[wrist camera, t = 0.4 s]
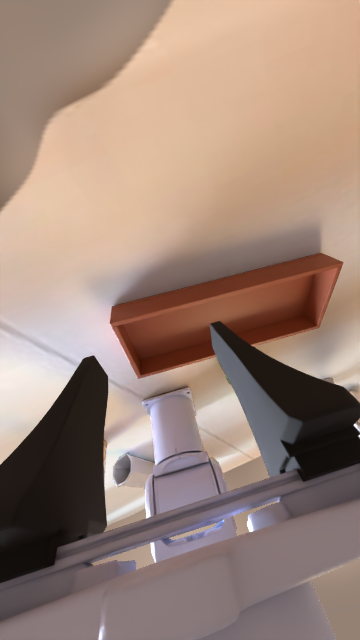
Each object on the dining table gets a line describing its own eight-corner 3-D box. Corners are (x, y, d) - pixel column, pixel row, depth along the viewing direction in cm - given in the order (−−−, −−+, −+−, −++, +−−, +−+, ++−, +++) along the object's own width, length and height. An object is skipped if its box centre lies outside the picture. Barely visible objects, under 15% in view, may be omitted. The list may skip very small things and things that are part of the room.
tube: (194, 484, 54) (135, 472, 39) (180, 499, 54) (115, 493, 38) (184, 465, 58) (128, 447, 43) (171, 479, 58) (110, 466, 43)
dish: (303, 314, 28) (319, 327, 26) (137, 360, 26) (138, 379, 24) (321, 252, 22) (344, 262, 20) (111, 306, 21) (109, 323, 18)
